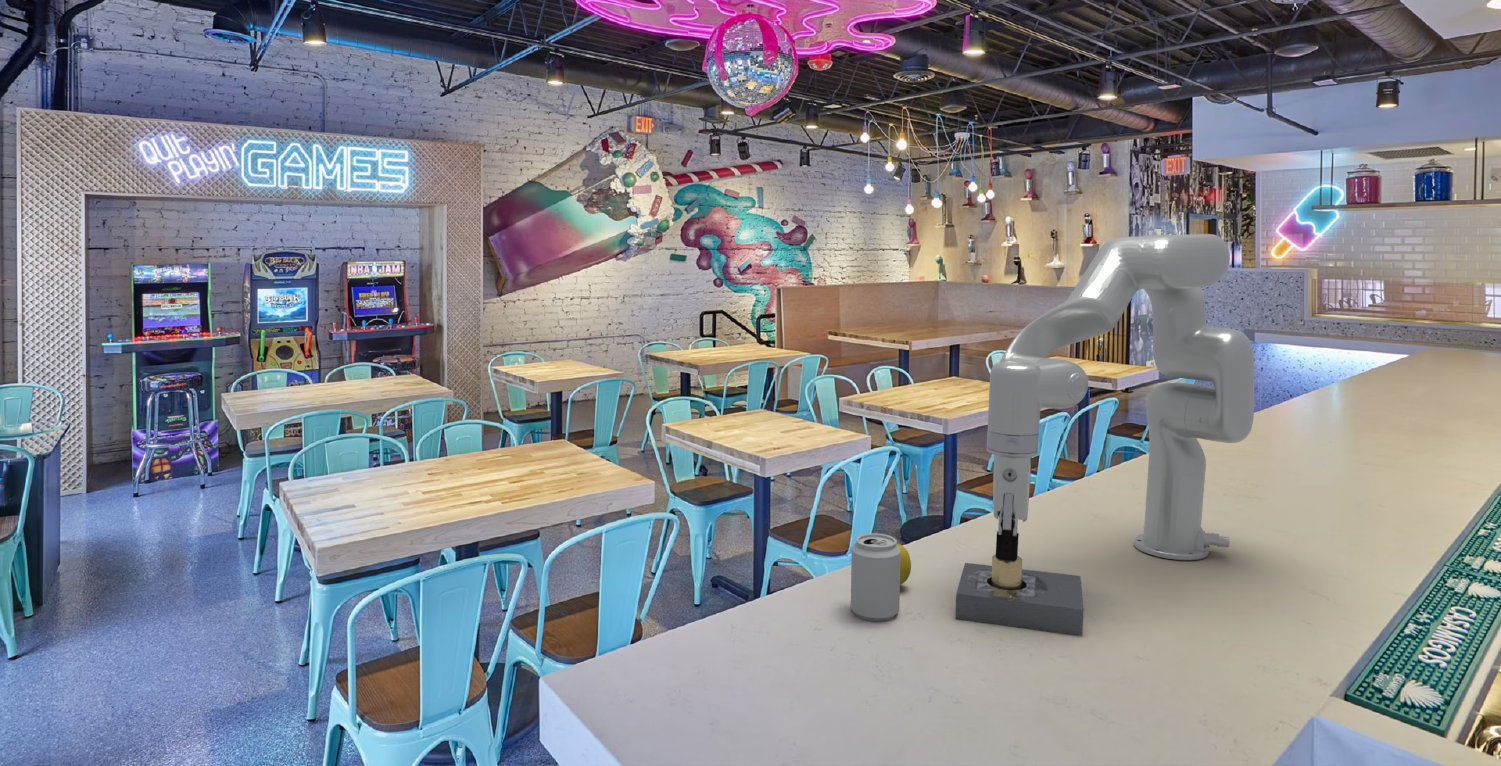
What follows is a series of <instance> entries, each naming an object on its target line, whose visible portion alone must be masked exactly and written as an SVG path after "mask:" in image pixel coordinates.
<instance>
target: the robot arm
mask: <svg viewBox="0 0 1501 766" xmlns="http://www.w3.org/2000/svg"><path fill="white" fill-rule="evenodd" d="M1230 253H1231V252H1230V249H1229V246H1228V244H1227V243H1226V242H1225V240H1224V239H1223V238H1222V237H1220V236H1218V235H1216V234H1212V233H1203V234H1202V233H1201V234H1200V233H1198V234H1195V233H1193V234H1150V235H1141V236H1135V235H1134V236H1121V237H1115V238H1112V239H1110V240H1108V241H1106V242H1105V243H1104V244H1103V245H1102V246H1101V247H1100V248H1099V250H1098V251H1097V252H1096V254H1095V256H1094V258H1093V259H1092V261H1091V262H1090V263H1089V265H1088V266H1087V268H1086V270H1085V271H1084V273H1083V274H1082V276H1081V277H1080V278H1079V280H1078V282H1077V283H1076V285H1075V287H1074V288H1073V290H1072V291H1071V293H1070V295H1069V296H1068V298H1067V299H1066V300H1065V301H1064V302H1062V303H1061V304H1059V305H1057V306H1055V307H1053V308H1051V309H1050V310H1048V311H1047V312H1045V313H1043V314H1042V315H1040V316H1039V317H1038V318H1036V319H1034V320H1033V321H1031V322H1029V324H1027V325H1026V326H1025V327H1024V328H1022V329H1021V330H1020V331H1019V332H1018V333H1017V334H1016V336H1015V337H1014V338H1013V340H1012V341H1011V343H1010V344H1009V346H1007V348H1006V350H1005V352H1004V354H1003V355H1002V357H1001V358H1000V360H999V362H996V363H995V364H993V366H991V369H990V374H989V390H988V393H989V394H988V412H987V414H988V415H987V434H986V436H987V437H986V452H988V453H989V454H992V455H994V456H993V479H992V480H993V481H992V482H993V484H992V486H993V487H992V491H993V492H992V494H993V495H992V496H993V497H992V498H993V500H992V504H993V516H994V519H996V520H998V528H997V531H996V539H995V540H996V543H995V554H996V558H997V559H1002V560H1010V561H1016V560H1017V556H1019V555H1018V552H1019V534H1020V533H1019V532H1018V524H1019V523H1018V522H1019V520H1021V521H1022V522H1023V523H1025V522H1026V521H1027V520H1028V516H1029V502H1030V489H1031V488H1030V487H1031V457H1032V458H1033V457H1035V456H1036V457H1037V455H1039V441H1040V440H1039V438H1040V434H1039V433H1040V422H1041V409H1043V408H1047V409H1048V408H1049V409H1059V410H1062V409H1068V408H1072V407H1074V406H1076V405H1078V404H1079V403H1081V401H1082V400H1083V399H1084V398H1085V397H1086V395H1087V392H1088V388H1089V379H1088V375H1087V373H1086V371H1085V370H1084V369H1083V368H1082V367H1081V366H1080V365H1078V364H1077V363H1075V362H1072V361H1070V360H1065V359H1059V358H1058V359H1057V358H1050V357H1048V356H1049V355H1050V354H1052V353H1054V352H1055V351H1057V350H1059V349H1062V348H1064V347H1066V346H1069V345H1072V344H1075V343H1079V342H1083V341H1087V340H1090V339H1094V338H1096V337H1100V336H1102V335H1104V334H1107V333H1109V332H1111V331H1112V330H1113V329H1114V328H1115V327H1116V326H1117V323H1118V322H1119V321H1120V318H1121V317H1122V315H1123V314H1124V312H1125V310H1126V309H1127V307H1128V306H1129V304H1130V302H1132V299H1133V298H1134V296H1135V295H1136V293H1137V292H1138V291H1139V290H1144V291H1145V293H1146V294H1147V296H1148V298H1149V301H1150V304H1151V305H1150V306H1151V311H1152V334H1153V335H1152V338H1153V340H1152V341H1153V358H1154V363H1155V367H1156V369H1157V371H1158V372H1159V373H1160V374H1162V375H1164V376H1167V377H1172V378H1177V379H1186V380H1193V381H1203V382H1210V383H1212V384H1213V386H1207V385H1202V384H1201V385H1200V384H1195V383H1185V382H1165V383H1162V384H1160V385H1157V386H1156V387H1154V388H1152V390H1151V391H1150V392H1149V395H1148V396H1147V398H1146V399H1147V400H1146V404H1145V405H1146V406H1145V407H1146V408H1145V411H1146V421H1147V427H1148V439H1149V443H1148V444H1149V445H1148V447H1149V449H1148V464H1147V465H1148V468H1147V479H1146V482H1147V483H1146V496H1145V497H1146V498H1145V510H1144V525H1143V526H1144V527H1143V534H1139V535H1136V536H1135V537H1134V540H1133V545H1134V546H1135V548H1136V549H1137V550H1138V551H1140V552H1142V553H1145V554H1148V555H1150V556H1151V555H1152V556H1153V557H1158V558H1163V559H1168V560H1176V561H1177V560H1178V561H1196V560H1202V559H1204V558H1207V557H1208V556H1209V551H1210V549H1209V548H1210V546H1216V547H1219V548H1229V547H1230V537H1229V536H1222V535H1221V536H1220V534H1219V533H1214V532H1211V533H1209V532H1205V531H1204V529H1203V527H1202V519H1203V518H1202V517H1203V506H1204V492H1205V483H1206V480H1205V479H1206V469H1207V462H1206V461H1207V460H1206V455H1205V453H1204V450H1203V448H1202V446H1201V444H1200V442H1199V440H1198V439H1200V440H1206V441H1212V442H1218V443H1224V444H1236V443H1239V442H1242V441H1244V440H1245V439H1246V438H1247V437H1248V436H1249V434H1250V432H1251V431H1252V428H1253V425H1254V418H1255V417H1254V415H1255V355H1254V354H1255V353H1254V349H1253V345H1252V343H1251V340H1250V338H1249V337H1248V336H1247V335H1246V334H1245V333H1243V332H1242V331H1240V330H1237V329H1234V328H1227V327H1225V328H1224V327H1215V326H1214V327H1212V326H1209V324H1208V323H1207V314H1206V312H1207V311H1206V300H1205V299H1206V298H1205V295H1204V292H1203V290H1202V287H1203V288H1204V287H1209V286H1213V285H1215V284H1217V283H1218V282H1219V281H1220V280H1222V279H1223V277H1224V276H1225V275H1226V273H1227V271H1228V268H1229V266H1230V260H1231V257H1230V256H1231V255H1230Z"/></svg>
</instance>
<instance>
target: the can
mask: <svg viewBox="0 0 1501 766" xmlns="http://www.w3.org/2000/svg"><path fill="white" fill-rule="evenodd" d="M896 543H898V541H897V539H896V538H895V537H893V536H891V535H889V534H883V533H863V534H861V535H858V536H857V537H856V538H855V543H854V545H852V546H851V562H850V563H851V567H850V568H851V570H850V571H851V573H850V575H851V576H850V609H851V610H852V612H853V613H854V614H855V615H856V616H857V617H859V618H861V619H862V620H865V621H871V622H883V621H888V620H890V619H892V618H894V616H896V615H897V614H898V613H899V612H900V600H901V599H900V596H901V595H900V593H901V592H900V591H901V587H900V586H901V585H900V562H901V550H900V548H899V547H898V546H897V545H896Z"/></svg>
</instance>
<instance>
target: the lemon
mask: <svg viewBox="0 0 1501 766" xmlns="http://www.w3.org/2000/svg"><path fill="white" fill-rule="evenodd" d="M896 545H897V546H898V547H899V548H900V550H901V562H900V586H901V585H903V584H904V583H906V581H908V579H909V577H910V574H911V571H912V561H911V556H910V553H909V551H908V550H907V548H906V547H904V546H903V545H902V544H900V543H898V542H897V543H896Z"/></svg>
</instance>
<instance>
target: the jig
mask: <svg viewBox="0 0 1501 766" xmlns="http://www.w3.org/2000/svg"><path fill="white" fill-rule="evenodd" d="M1081 577H1082V576H1081V575H1075V574H1069V573H1068V574H1066V573H1059V572H1058V573H1057V572H1051V571H1050V572H1049V571H1040V570H1033V569H1032V570H1031V569H1023V568H1022V587H1021V590H1012V591H1010V590H1002V589H998V588H995V587H992V565H988V564H987V565H986V564H979V563H969V562H965V563H964V565H963V568H962V572H961V576H960V580H959V583H958V585H957V589H956V590H957V591H956V593H955V594H956V595H955V617H954V618H955V620H963V621H970V622H976V623H984V624H991V625H999V626H1006V627H1014V628H1020V627H1021V629H1029V630H1036V631H1042V632H1043V631H1045V632H1050V633H1057V632H1058V634H1067V635H1072V636H1073V635H1074V636H1079V635H1080V636H1079V637H1081V636H1083V625H1084V624H1083V623H1084V598H1083V591H1082V590H1083V589H1082V580H1081V579H1082V578H1081Z"/></svg>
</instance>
